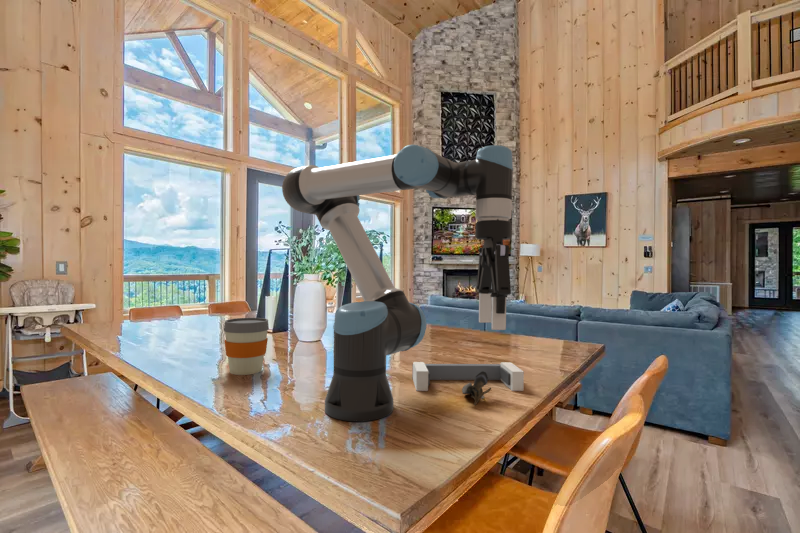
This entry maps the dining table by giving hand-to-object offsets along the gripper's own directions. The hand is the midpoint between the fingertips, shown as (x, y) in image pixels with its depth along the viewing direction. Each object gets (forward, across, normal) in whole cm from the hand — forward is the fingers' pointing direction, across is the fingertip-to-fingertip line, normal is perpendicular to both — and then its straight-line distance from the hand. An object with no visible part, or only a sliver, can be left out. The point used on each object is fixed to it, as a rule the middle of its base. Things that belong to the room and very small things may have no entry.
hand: (491, 325), depth 86 cm
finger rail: (+20, +23, 0) cm, 30 cm away
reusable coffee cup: (+20, +37, +63) cm, 76 cm away
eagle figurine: (+20, +11, 0) cm, 23 cm away
